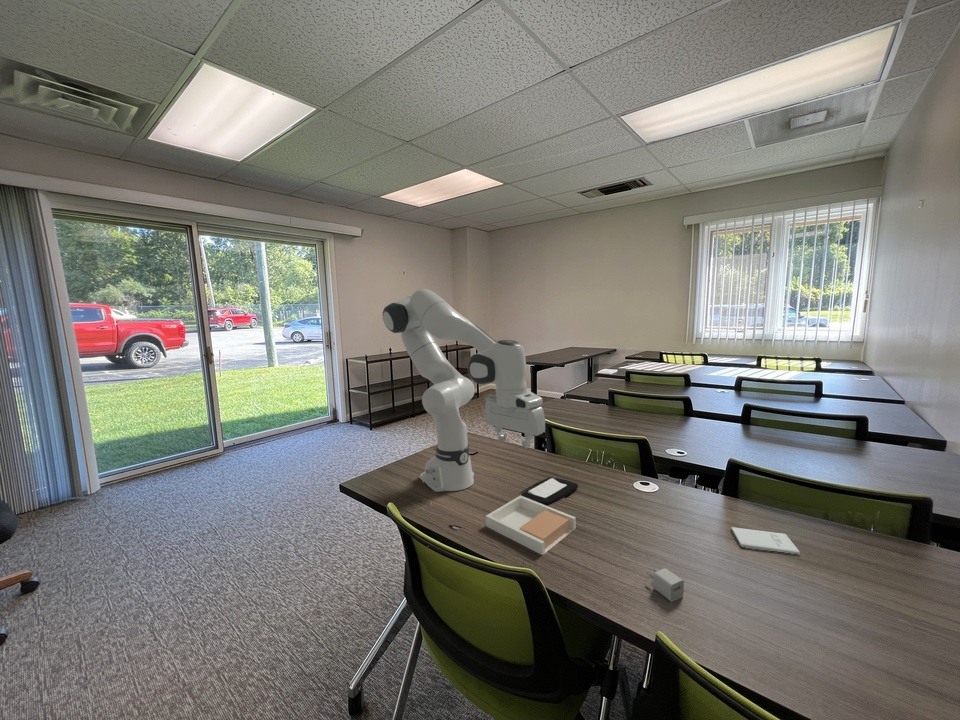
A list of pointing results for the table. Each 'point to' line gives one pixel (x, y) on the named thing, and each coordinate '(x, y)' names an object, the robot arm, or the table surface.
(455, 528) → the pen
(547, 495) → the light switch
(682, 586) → the usb wall charger
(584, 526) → the table surface
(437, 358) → the robot arm
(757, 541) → the external hard drive
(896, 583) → the table surface
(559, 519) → the light orange flat block
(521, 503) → the open box
